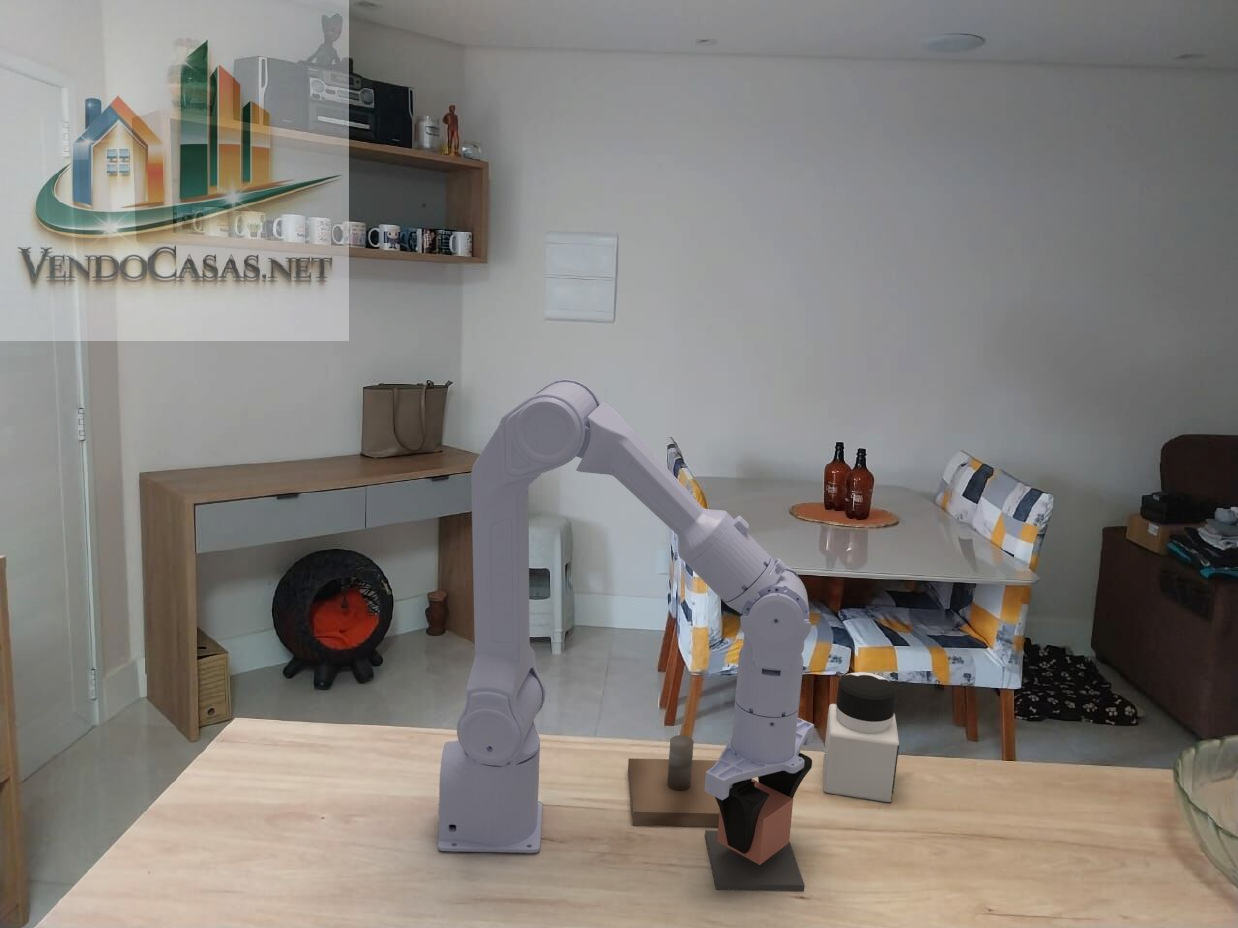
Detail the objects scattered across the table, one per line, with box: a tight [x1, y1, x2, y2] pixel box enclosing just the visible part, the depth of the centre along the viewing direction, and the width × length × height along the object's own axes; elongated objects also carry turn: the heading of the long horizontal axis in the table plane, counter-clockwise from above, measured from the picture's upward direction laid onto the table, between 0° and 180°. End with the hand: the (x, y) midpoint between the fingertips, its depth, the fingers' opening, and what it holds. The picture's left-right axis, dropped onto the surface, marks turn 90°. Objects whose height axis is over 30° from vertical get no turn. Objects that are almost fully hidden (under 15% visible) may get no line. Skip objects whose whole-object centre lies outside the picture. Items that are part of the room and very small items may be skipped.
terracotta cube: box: [717, 778, 794, 865], centre depth 90 cm, size 5×5×5 cm
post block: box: [627, 734, 720, 828], centre depth 100 cm, size 10×10×6 cm
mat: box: [704, 829, 805, 892], centre depth 91 cm, size 8×8×1 cm
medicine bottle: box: [823, 671, 900, 803], centre depth 105 cm, size 7×7×12 cm
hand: (754, 835), depth 91 cm, fingers closed on terracotta cube, 5 cm apart
